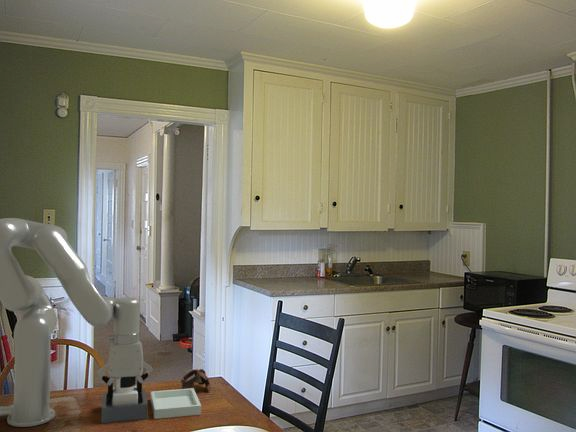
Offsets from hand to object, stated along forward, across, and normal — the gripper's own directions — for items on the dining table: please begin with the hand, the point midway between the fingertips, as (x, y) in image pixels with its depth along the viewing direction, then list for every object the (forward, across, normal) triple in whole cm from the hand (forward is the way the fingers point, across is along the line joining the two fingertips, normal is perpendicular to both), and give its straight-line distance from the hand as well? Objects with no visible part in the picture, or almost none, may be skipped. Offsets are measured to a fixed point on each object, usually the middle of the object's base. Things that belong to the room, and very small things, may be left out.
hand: (124, 395), depth 157 cm
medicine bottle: (+6, 0, 0) cm, 6 cm away
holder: (+5, 0, 0) cm, 5 cm away
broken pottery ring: (+6, +25, +15) cm, 30 cm away
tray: (+5, +16, +1) cm, 16 cm away
